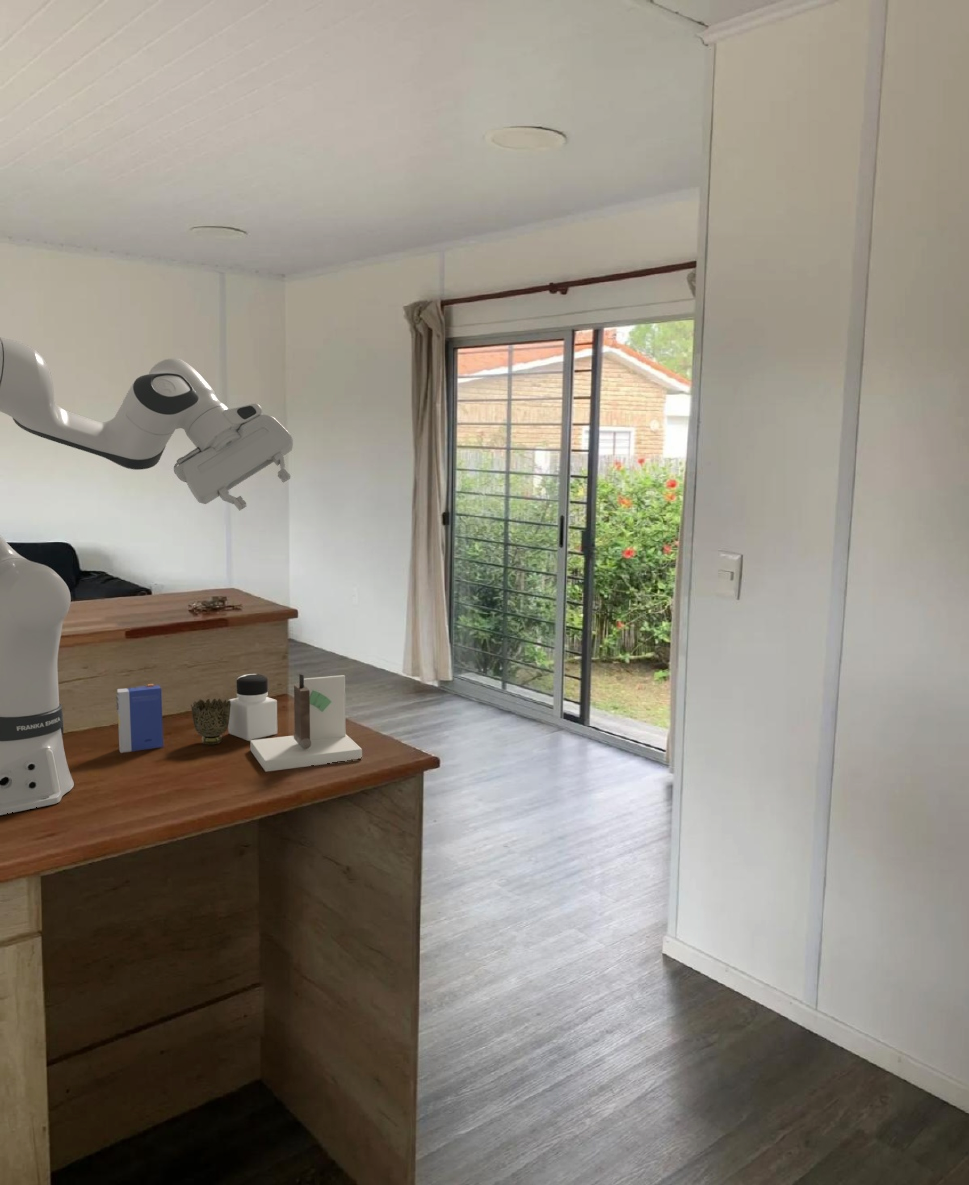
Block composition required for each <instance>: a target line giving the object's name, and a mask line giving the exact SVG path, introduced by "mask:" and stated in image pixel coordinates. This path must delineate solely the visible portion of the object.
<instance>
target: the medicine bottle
mask: <svg viewBox="0 0 969 1185" xmlns="http://www.w3.org/2000/svg"><path fill="white" fill-rule="evenodd" d="M268 681H269V680H268V677H267V676H265V675H263V674H259V673H249V674H242V675H241V676H239V677H237V679H236V698H229V699H228V700H227V702H228V701H229V700H230V704H231V706H230V717H229V724H228V728H227V730H228V734H230V735H232V736H235V737H238V738H240V739H242V740H245V741H248V742H250V740H258V739H263V738H266V737H269V736H274V735H277V734H278V700H277V699H274V698H271V697H269V696H268V695H269V694H268V693H269V692H268V690H269V686H268Z"/></svg>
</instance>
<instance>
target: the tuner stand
mask: <svg viewBox="0 0 969 1185" xmlns="http://www.w3.org/2000/svg"><path fill="white" fill-rule="evenodd" d="M304 686H305V687H306V688H307V689H309V690H310V741H311V746H310V747H309V748H308V749H303V748H302V747H301V746H300V745H299V744H298V743H297V742H296V740H295V739H294V734H293V735H288V736H287V735H286V736H277V737H276V736H275V737H268V738H258V739H254V740H250V741H249V742H250V752H251V753H252V754H253V756H254V758H255V759H256V760H257V762H258V763H259V764H260V766H261V767H262V768H263V770H264V772H274V771H281V770H288V769H289V770H290V769H297V768H304V767H312V766H311V765H314V766H319V765H320V766H322V765H328V764H327V763H330V764H333V763H332V762H337V761H345V762H348V761H347V760H351V759H358V758H361V757H362V758H363V749H362V748H361V747H360V746H359V745H358V744H357V743H356V742H355V741H354V740H353V739H352V738H351V737H350V736H348V735H347V733H346V675H344V674H340V675H330V676H318V677H308V678H305V677H304Z"/></svg>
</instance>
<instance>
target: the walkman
mask: <svg viewBox="0 0 969 1185" xmlns="http://www.w3.org/2000/svg"><path fill="white" fill-rule="evenodd" d="M162 697H163V696H162V687H161V686H160V685H159V684H156V685H155V684H154V683H150V684H146V686H145V685H144V686H137V687H127V688H117V690H116V697H115V699H116V700H115V701H116V711H117V720H118V722H117V724H118V743H119V745H118V746H119V752H120V753H121V754H122V753H130V752H135V751H136V752H137V751H144V750H151V749H158V748H164V735H163V734H164V730H163V729H164V728H163V702H162V701H163V699H162Z"/></svg>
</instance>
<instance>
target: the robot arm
mask: <svg viewBox="0 0 969 1185" xmlns="http://www.w3.org/2000/svg"><path fill="white" fill-rule="evenodd" d="M53 383H54V382H53V377H52V373H51V371H50V367H49V365H48V363H47V362H46V360H45V358H44V356H42V354H40V353H39V352H38V351H37V350H36V349H35V348H33V347H32V346H29V345H28V344H25V343H23V342H20V341H17V340H14V339H11V338H5V337H0V413H3V414H5V415H7V416H9V417H11V418H12V420H13V421H14V423H15V424H16V425H17V426H18V427H19V428H21V429H22V430H24V431H26V432H27V433H30V434H32V435H35V436H38V437H40V438H44V439H45V440H49V441H52V442H54V443H58V444H62V445H64V446H67V447H71V448H74V449H77V450H80V451H83V452H86V453H89V454H93V455H95V456H99V457H102V458H104V459H106V460H109V461H111V462H112V463H114V464H117V465H118V466H120V467H123V468H126V469H129V470H132V471H133V470H134V471H135V470H138V471H139V470H147V469H150V468H153V467H155V466H157V464H158V463H159V462H160V460H161V458H162V456H163V453H164V451H165V450H166V447H167V443H168V442H169V440H170V439H171V437H172V436H173V434H174V432H175V431H176V430H179V429H183V430H184V432H185V434H186V436H187V437H188V439H189V440H190V442H192V444H193V445H194V447H196V448H194V449H193V450H191V451H189V452H188V453H187V454H185V455H184V456H181V457H179V458H178V459H177V460H176V463H175V464H174V466H173V472H174V474H175V476H176V477H177V478H178V479H179V480H180V481H181V482H184V483H186V485H187V486H188V489H189V490H190V492H191V494H192V495H193V497H194V499H195V500H196V501H197V503H200V504H203V505H207V504H209V503H210V502H212V501H213V500H215V499H217V498H218V497H219V498H220V499H221V500H222V501H224V502H227V503H229V504H231V505H234V506H235V507H236V509H237V510H238V511H242V510H243V509H245V508H246V507H247V502H246V501H245V500H244V498H243V496H242V495H239V496H237V497H235V496H234V495H231V494H229V491H230V490H231V489H233V488H234V487H236V486H237V485H239V484H241V483H242V482H244V481H245V480H247V479H248V478H251V477H252V476H253V475H255V474H257V473H258V472H260V471H261V470H263V469H265V468H266V467H269V465H271V464H272V463H274V464H275V466H278V467H279V468H280V470H278V471H277V477H278V478H279V479H280V480H281V482H282V483H283V484H284V483H285V482H287V481H289V480H290V479H291V474H290V472H289V471H288V470H287V469H286V466H285V465H286V464H285V458H284V456H285V455H287V454H289V453H290V452H291V451H292V450H293V448H294V447H293V446H294V438H293V436H292V434H291V433H290V432H289V431H288V430H287V429H286V428H285V427H284V425H282V424H281V423H280V422H279V421H278V420H277V419H276V418H275V417H274V416H271V415H269V414H264V412H263V408H262V406H260V405H259V404H258V403H256V402H255V403H250V404H246V405H241V406H237V407H232V408H229V407H228V406H227V405H226V404H224V403H223V402H222V401H220V400H219V399H218V396H217V395H216V392H215V390H214V389H213V388H212V386H211V385H210V383H208V381H207V380H206V379H205V378H204V377H203V376H202V375H201V374H200V372H198V371H197V370H196V369H195V368H194V367H193V366H191V365H190V364H189V363H187V361H184V360H183V359H181V358H179V357H178V358H176V357H171V358H166V359H163V360H161V361H159V362H157V363H156V364H155V365H154V366H153V367H152V368H150V370H149V373H148V374H144V375H141V376H139V377H137V378H136V379H135V380H134V382H133V383H132V385H131V386H130V388H129V389H128V391H127V393H126V394H125V397H124V398H123V399H122V400H123V401H122V403H121V405H120V407H119V408H118V410H117V412H116V414H115V416H114V417H113V418H112V419H110V420H107V421H103V422H102V421H99V420H95V419H93V418H90V417H87V416H84V415H81V414H78V413H75V412H73V411H69V410H67V409H64V408H62V407H61V406H60V405H58V404H57V403H56V401H55V397H54V396H55V394H54V393H55V392H54V384H53ZM71 600H72V596H71V592H70V589H69V586H68V585H67V583H66V581H64V579H63V578H62V577H61V576H60V575H59V574H58V573H57V572H56V571H55V570H54V569H52V568H51V567H49V566H48V565H46V564H42V563H39V562H35V561H32V560H29V559H27V558H25V557H24V556H22V555H21V554H19V553H18V552H17V551H16V550H15V549H13V548H12V546H10V544H9V543H7V541H6V540H5V539H4V538H3V537H2V536H1V535H0V816H3V815H4V816H5V815H8V814H12V812H13V813H18V812H23V811H27V810H30V809H37V808H42V807H46V806H51V805H56V804H57V803H60V802H61V801H62V797H63V796H65V794H67V793H68V792H70V791H71V790H72V789H73V788H74V785H75V783H74V780H73V777H72V774H71V773H70V769H69V765H68V762H67V758H66V753H65V749H64V748H65V747H64V741H63V735H64V715H63V713H64V712H63V705H62V704H61V703H60V697H59V696H60V695H59V693H60V690H59V673H58V671H59V670H58V668H59V667H58V662H59V661H58V660H59V657H58V656H59V648H60V644H61V637H62V631H63V624H64V619H65V618H66V617H67V615H68V613H69V610H70V607H71V603H72V601H71ZM36 807H37V808H36ZM7 813H8V814H7Z"/></svg>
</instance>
